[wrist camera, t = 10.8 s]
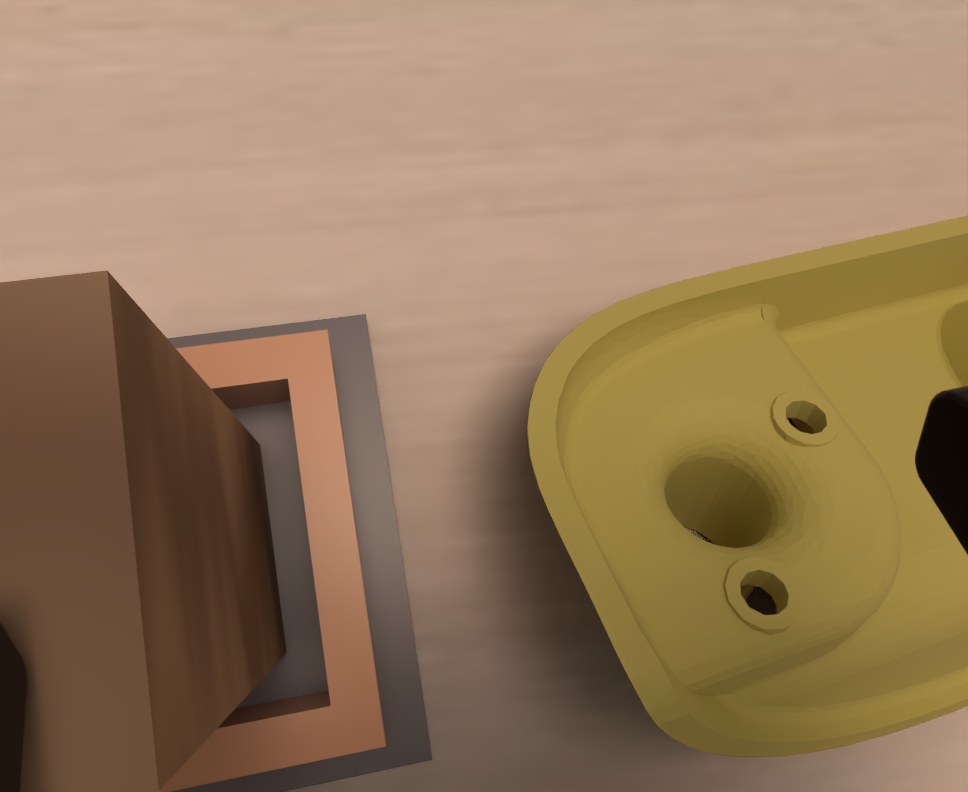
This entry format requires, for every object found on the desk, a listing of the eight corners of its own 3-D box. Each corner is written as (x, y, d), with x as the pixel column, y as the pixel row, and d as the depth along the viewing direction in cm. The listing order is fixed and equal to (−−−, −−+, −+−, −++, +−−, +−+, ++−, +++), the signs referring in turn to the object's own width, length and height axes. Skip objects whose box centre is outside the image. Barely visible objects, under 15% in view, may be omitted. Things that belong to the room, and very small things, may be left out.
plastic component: (1121, 180, 24) (1471, 462, 18) (982, 350, 30) (1215, 603, 24) (464, 327, 19) (672, 780, 13) (451, 497, 25) (592, 861, 19)
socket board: (430, 754, 20) (440, 786, 17) (-63, 858, 18) (-146, 915, 15) (365, 321, 22) (365, 282, 19) (-87, 376, 20) (-165, 343, 17)
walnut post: (286, 652, 20) (158, 791, 8) (62, 695, 19) (-486, 928, 7) (260, 444, 21) (107, 271, 8) (44, 477, 20) (-470, 335, 8)
